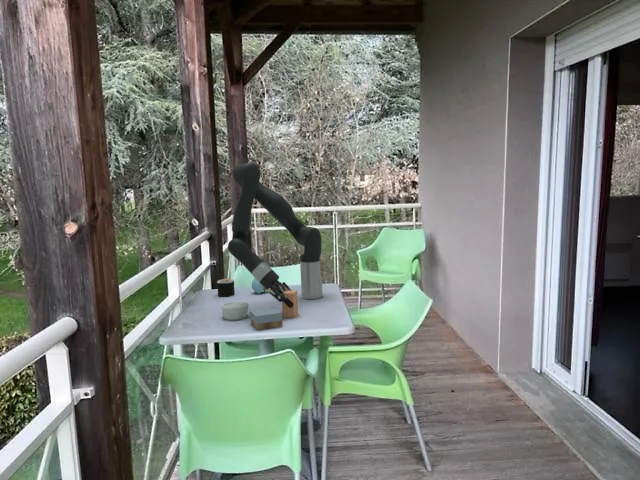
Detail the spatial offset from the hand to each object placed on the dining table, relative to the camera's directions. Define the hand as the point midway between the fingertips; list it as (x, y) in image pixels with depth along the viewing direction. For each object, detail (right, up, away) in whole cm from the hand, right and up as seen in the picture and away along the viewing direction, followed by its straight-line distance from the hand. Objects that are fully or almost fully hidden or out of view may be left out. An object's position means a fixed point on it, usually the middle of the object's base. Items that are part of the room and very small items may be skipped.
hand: (294, 304), depth 204 cm
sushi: (-36, -1, +43) cm, 56 cm away
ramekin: (-24, -6, +3) cm, 25 cm away
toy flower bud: (-17, 0, +45) cm, 48 cm away
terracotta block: (-2, -5, +1) cm, 5 cm away
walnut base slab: (-10, -7, -10) cm, 16 cm away
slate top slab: (-10, -4, -11) cm, 16 cm away
